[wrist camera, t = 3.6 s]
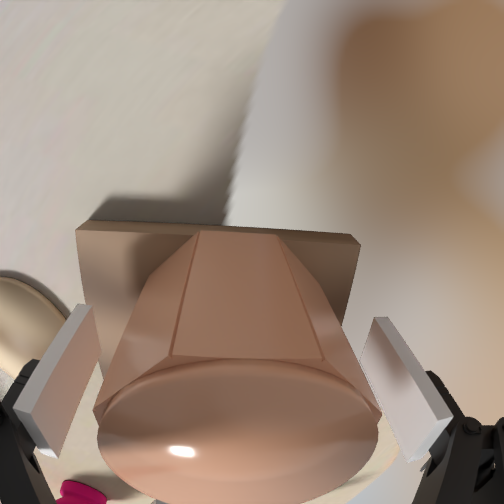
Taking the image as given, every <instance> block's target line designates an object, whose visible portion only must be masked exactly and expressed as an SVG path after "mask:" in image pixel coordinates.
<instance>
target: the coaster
mask: <svg viewBox="0 0 504 504" xmlns="http://www.w3.org/2000/svg"><path fill="white" fill-rule="evenodd" d="M65 322H66V319H65V317H64V316H63V315H62V314H61V312H60V311H59V310H58V309H57V308H56V307H55V306H54V305H53V304H52V303H51V302H50V301H49V300H48V299H47V298H46V297H45V296H44V295H42V294H41V293H40V292H38V291H37V290H36V289H34V288H32V287H31V286H29V285H27V284H25V283H23V282H21V281H19V280H16V279H13V278H8V277H0V368H1V369H2V370H3V371H5V372H6V373H7V374H8V375H9V376H11V377H12V378H13V379H16V377H17V376H18V375H19V372H20V371H21V369H22V368H23V366H24V365H25V364H27V363H28V362H29V361H30V360H32V359H37V360H41V358H42V357H43V355H44V354H45V352H46V351H47V349H48V347H49V346H50V344H51V343H52V341H53V340H54V338H55V337H56V335H57V334H58V332H59V331H60V329H61V328H62V326H63V325H64V323H65Z"/></svg>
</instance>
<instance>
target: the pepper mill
mask: <svg viewBox="0 0 504 504" xmlns="http://www.w3.org/2000/svg"><path fill="white" fill-rule="evenodd" d="M60 494H61V495H62V496H63V497H62V498H60V499H57V500H56V503H57V504H106V502H107V499H106V497H105V496H104V495H103V494H102V493H101V492H99V491H97V490H96V489H94V488H92V487H89V486H87V485H84V484H82V483H79V482H74V481H64V482H63V483H62V486H61V489H60Z"/></svg>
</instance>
